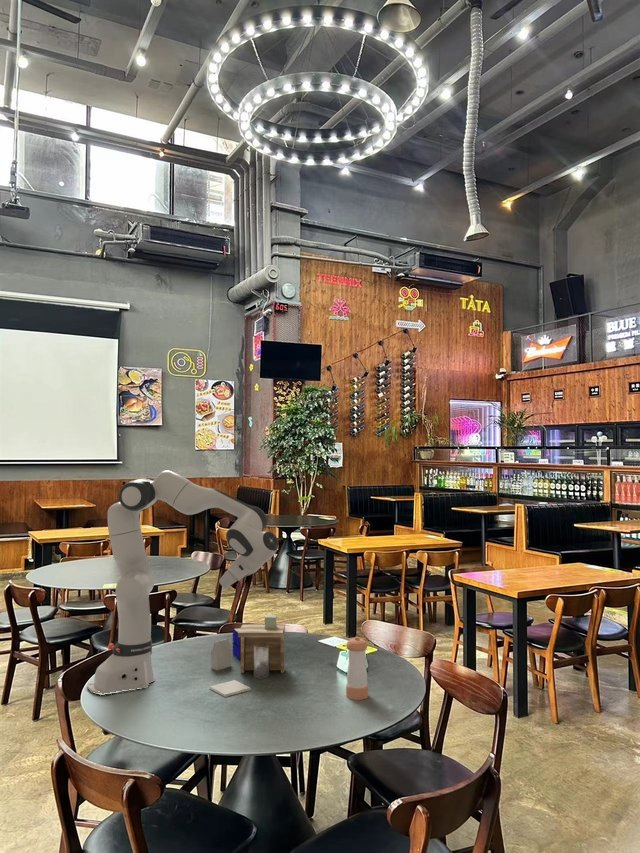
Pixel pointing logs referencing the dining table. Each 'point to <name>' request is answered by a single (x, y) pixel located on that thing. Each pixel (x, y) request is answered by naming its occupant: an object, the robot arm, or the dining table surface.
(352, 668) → the pepper shaker
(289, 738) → the dining table surface
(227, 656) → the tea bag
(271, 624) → the sage block
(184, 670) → the dining table surface
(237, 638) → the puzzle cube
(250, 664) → the box
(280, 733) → the dining table surface
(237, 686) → the ceramic tile
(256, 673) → the clear glass tumbler
